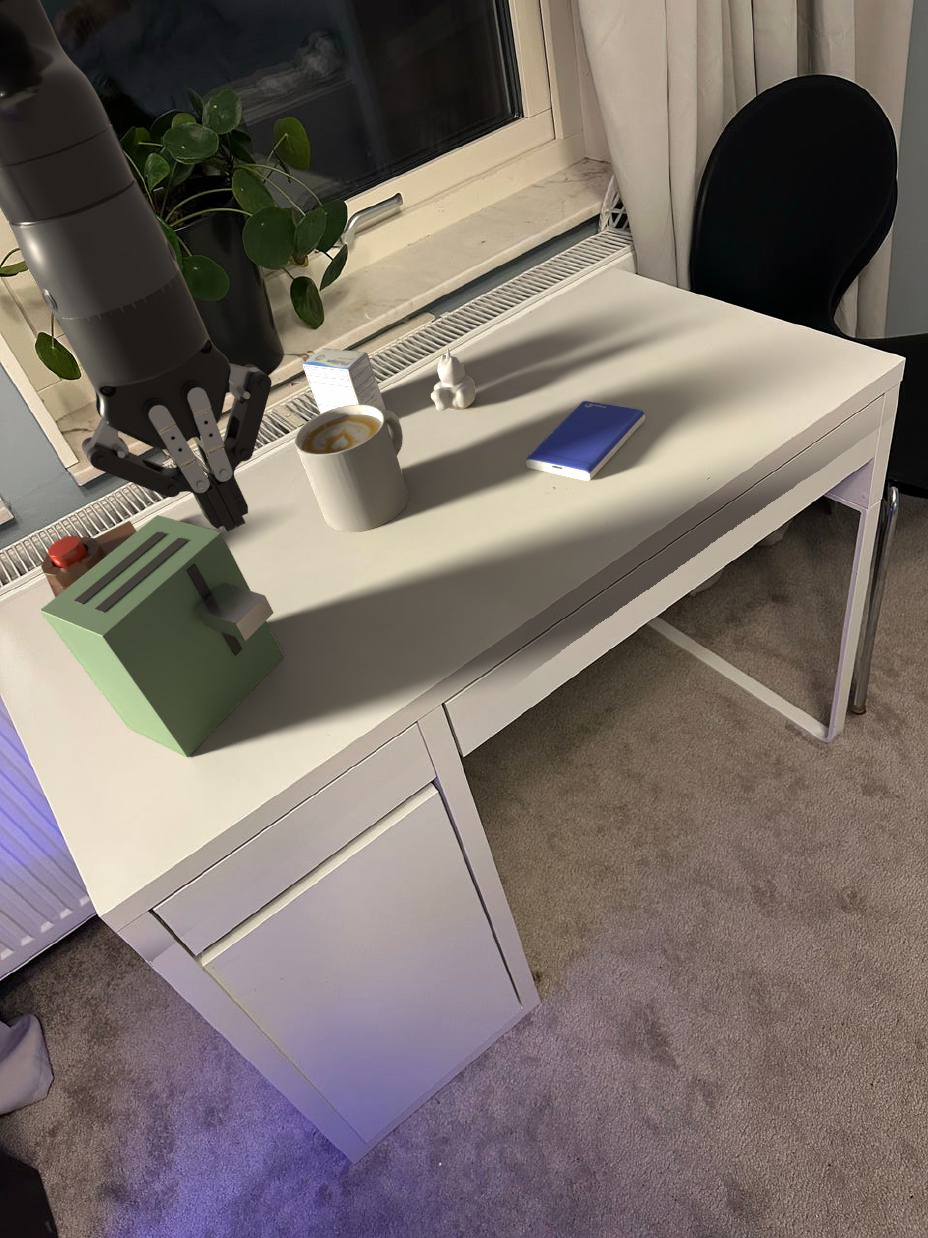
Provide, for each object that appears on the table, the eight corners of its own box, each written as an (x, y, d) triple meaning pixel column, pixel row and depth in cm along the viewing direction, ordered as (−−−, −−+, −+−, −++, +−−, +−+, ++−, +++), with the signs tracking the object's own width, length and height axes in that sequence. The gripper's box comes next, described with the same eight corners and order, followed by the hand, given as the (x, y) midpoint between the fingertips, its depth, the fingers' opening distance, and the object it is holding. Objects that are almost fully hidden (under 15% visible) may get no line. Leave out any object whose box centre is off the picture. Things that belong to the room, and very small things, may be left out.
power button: (59, 572, 92) (51, 560, 91) (53, 558, 95) (44, 546, 94) (90, 557, 93) (82, 544, 92) (83, 543, 96) (75, 531, 95)
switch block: (67, 616, 92) (47, 589, 90) (51, 579, 99) (32, 552, 96) (159, 567, 96) (143, 540, 93) (138, 534, 102) (122, 508, 99)
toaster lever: (245, 641, 68) (236, 623, 66) (204, 626, 70) (194, 608, 69) (274, 612, 70) (265, 595, 68) (232, 599, 72) (223, 581, 71)
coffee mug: (361, 542, 91) (332, 464, 84) (307, 516, 97) (276, 441, 90) (447, 477, 97) (426, 399, 90) (390, 456, 103) (367, 382, 96)
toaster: (189, 758, 73) (103, 636, 63) (128, 728, 77) (38, 609, 67) (286, 656, 80) (222, 532, 70) (224, 634, 84) (156, 514, 74)
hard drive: (581, 399, 100) (525, 456, 93) (644, 409, 95) (589, 469, 89) (583, 411, 101) (527, 468, 95) (645, 421, 96) (590, 482, 90)
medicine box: (387, 412, 111) (369, 351, 105) (367, 430, 109) (347, 368, 103) (342, 405, 115) (322, 346, 109) (322, 422, 113) (300, 363, 107)
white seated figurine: (489, 400, 108) (476, 341, 102) (454, 426, 105) (439, 367, 99) (458, 392, 111) (445, 334, 106) (424, 417, 108) (408, 359, 103)
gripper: (198, 228, 52) (293, 463, 64) (-10, 312, 49) (131, 545, 60) (240, 251, 47) (335, 502, 59) (10, 346, 44) (160, 594, 55)
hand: (231, 523), depth 59 cm, fingers closed
